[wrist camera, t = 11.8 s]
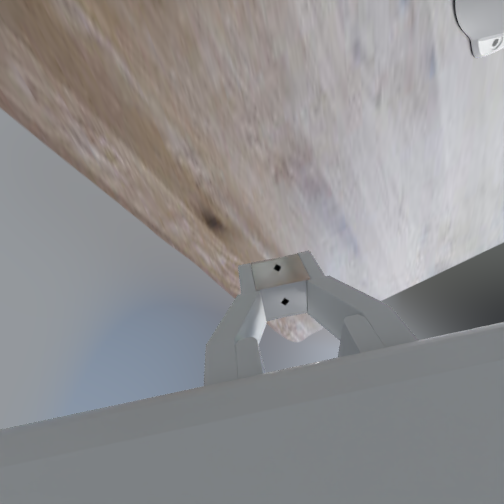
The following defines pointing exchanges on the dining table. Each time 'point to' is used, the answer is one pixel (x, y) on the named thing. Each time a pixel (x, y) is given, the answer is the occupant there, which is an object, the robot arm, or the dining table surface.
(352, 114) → the dining table surface
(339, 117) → the dining table surface
